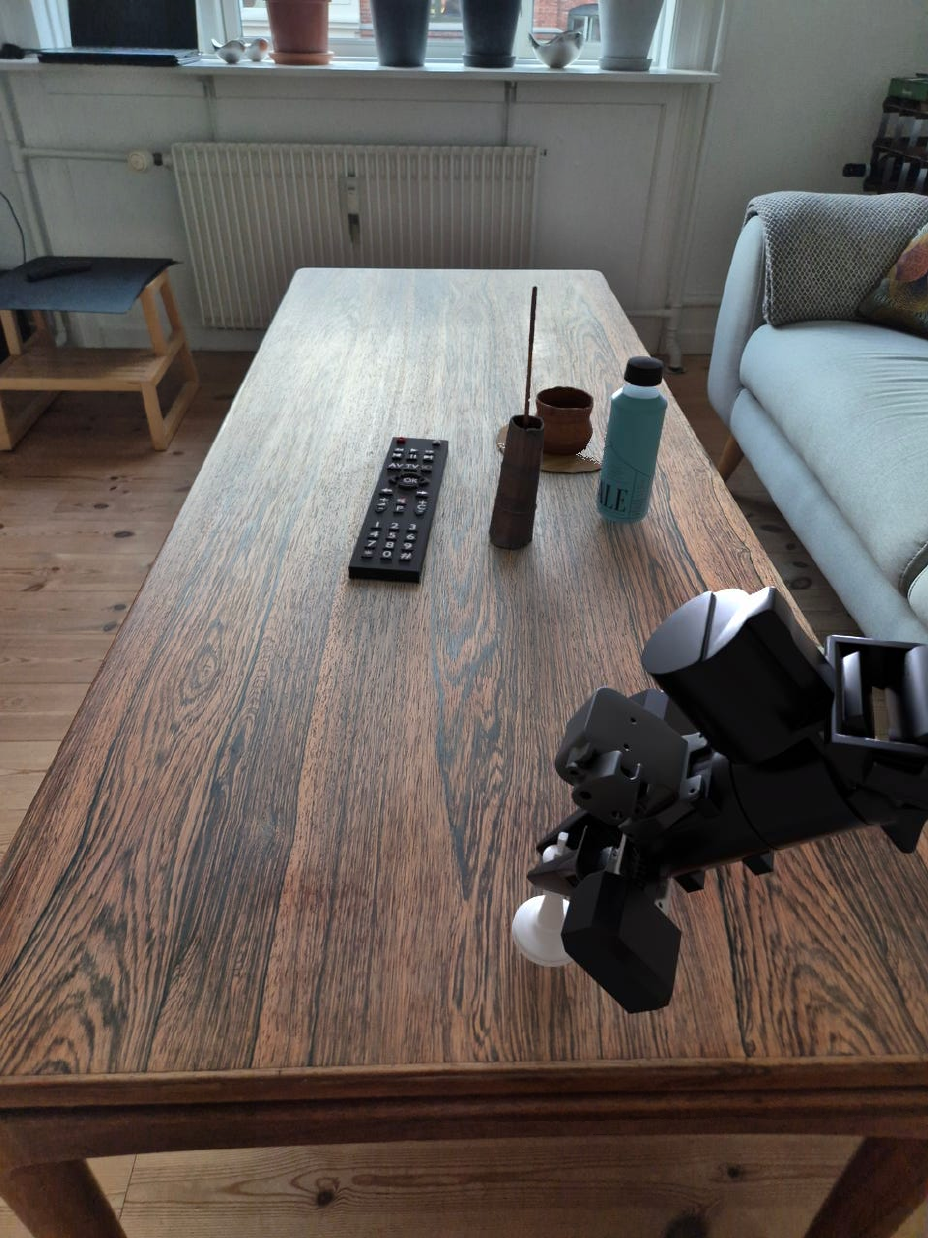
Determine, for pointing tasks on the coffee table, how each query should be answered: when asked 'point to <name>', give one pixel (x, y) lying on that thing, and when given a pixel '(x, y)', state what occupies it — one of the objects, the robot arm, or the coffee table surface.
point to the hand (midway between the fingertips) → (535, 865)
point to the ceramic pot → (563, 429)
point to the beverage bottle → (632, 443)
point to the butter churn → (519, 469)
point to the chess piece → (543, 920)
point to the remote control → (401, 512)
